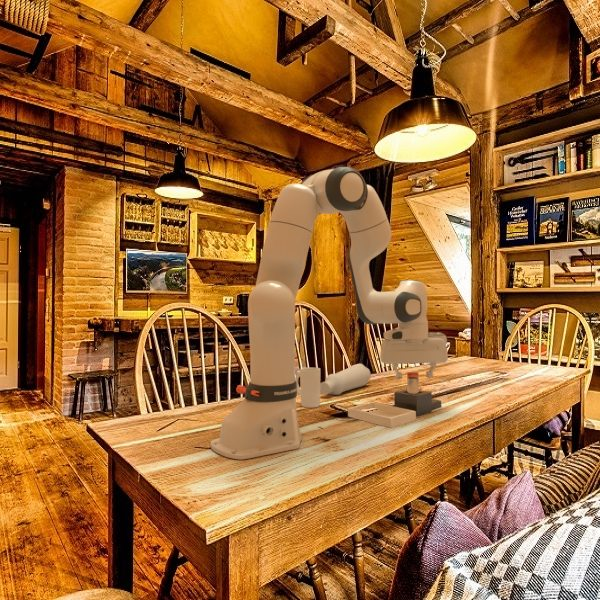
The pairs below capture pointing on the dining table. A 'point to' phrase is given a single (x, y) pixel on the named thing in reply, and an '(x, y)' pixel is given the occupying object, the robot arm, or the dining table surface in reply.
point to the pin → (413, 382)
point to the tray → (382, 414)
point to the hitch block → (416, 401)
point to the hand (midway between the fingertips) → (414, 377)
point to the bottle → (345, 380)
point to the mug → (309, 387)
